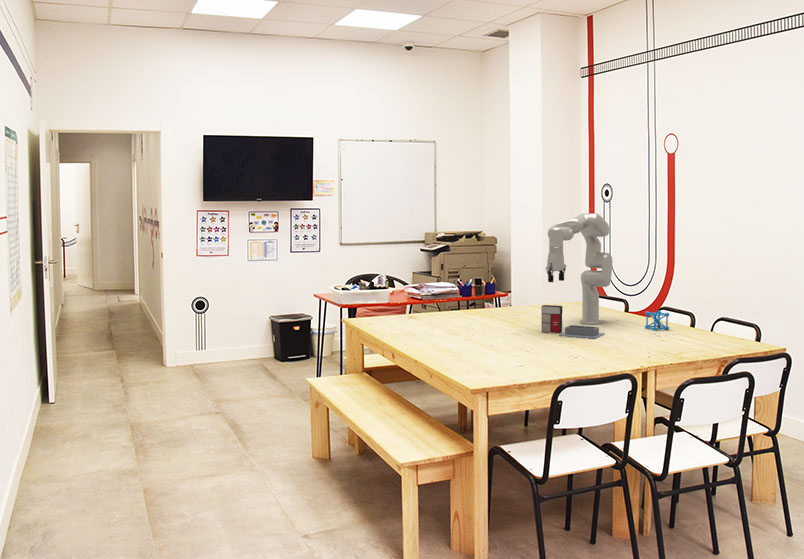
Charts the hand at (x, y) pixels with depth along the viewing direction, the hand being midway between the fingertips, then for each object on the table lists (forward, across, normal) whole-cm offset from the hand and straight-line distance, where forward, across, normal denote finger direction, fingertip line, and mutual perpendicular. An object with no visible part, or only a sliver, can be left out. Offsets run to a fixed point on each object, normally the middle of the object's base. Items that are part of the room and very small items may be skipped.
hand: (556, 281), depth 403 cm
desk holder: (+29, -4, +14) cm, 32 cm away
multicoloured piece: (+29, -1, -4) cm, 30 cm away
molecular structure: (+29, -47, +34) cm, 65 cm away
